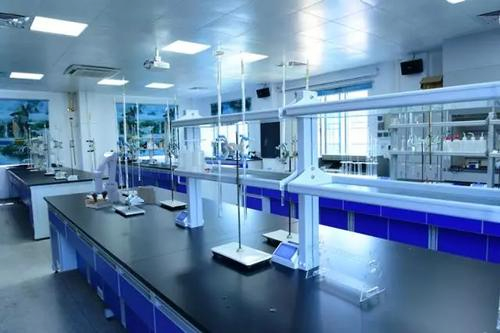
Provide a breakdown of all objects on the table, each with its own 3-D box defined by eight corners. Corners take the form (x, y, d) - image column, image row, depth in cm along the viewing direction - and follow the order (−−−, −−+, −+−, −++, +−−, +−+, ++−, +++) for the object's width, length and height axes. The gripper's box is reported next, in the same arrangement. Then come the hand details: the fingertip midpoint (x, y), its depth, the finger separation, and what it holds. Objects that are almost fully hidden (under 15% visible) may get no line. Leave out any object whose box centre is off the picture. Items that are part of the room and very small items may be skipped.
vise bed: (101, 203, 299) (100, 198, 298) (112, 205, 290) (112, 199, 290) (85, 206, 287) (85, 201, 286) (97, 208, 278) (96, 202, 278)
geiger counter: (156, 187, 293) (136, 185, 306) (150, 188, 288) (130, 186, 301) (157, 203, 294) (137, 200, 308) (151, 204, 289) (131, 202, 302)
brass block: (100, 203, 290) (100, 197, 290) (104, 204, 288) (104, 198, 287) (96, 204, 287) (96, 198, 287) (100, 205, 284) (99, 199, 284)
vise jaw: (95, 201, 301) (95, 197, 301) (101, 202, 296) (101, 198, 296) (82, 203, 291) (82, 200, 291) (88, 204, 286) (88, 201, 286)
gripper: (93, 187, 278) (94, 203, 279) (109, 184, 290) (110, 200, 291) (88, 186, 282) (89, 202, 283) (104, 184, 294) (105, 199, 295)
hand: (100, 201), depth 287 cm, fingers open, 7 cm apart
